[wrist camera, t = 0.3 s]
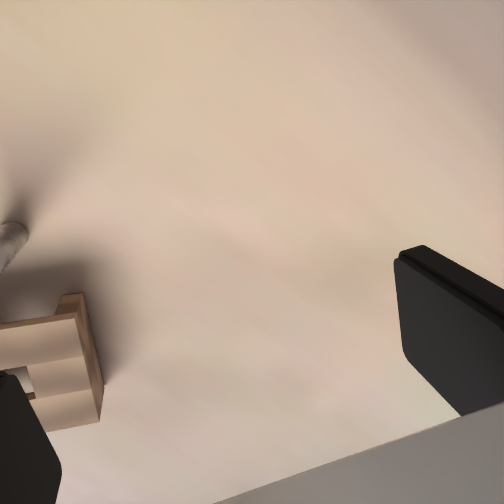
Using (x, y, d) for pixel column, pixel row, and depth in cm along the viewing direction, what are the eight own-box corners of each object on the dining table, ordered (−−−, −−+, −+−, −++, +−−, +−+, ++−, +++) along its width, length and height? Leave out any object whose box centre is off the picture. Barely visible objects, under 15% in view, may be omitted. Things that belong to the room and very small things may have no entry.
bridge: (-67, 314, 43) (-96, 344, 38) (82, 292, 46) (74, 318, 41) (-31, 412, 48) (-52, 451, 43) (104, 388, 50) (99, 422, 45)
